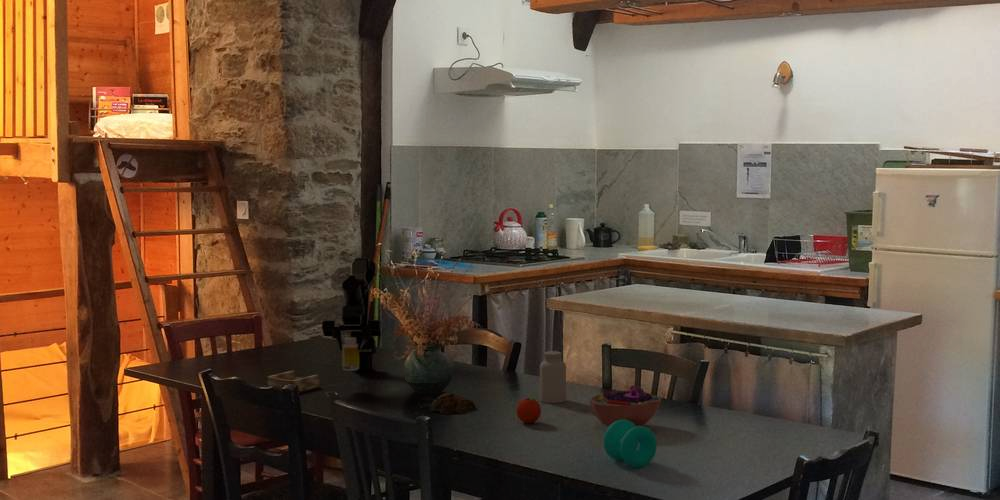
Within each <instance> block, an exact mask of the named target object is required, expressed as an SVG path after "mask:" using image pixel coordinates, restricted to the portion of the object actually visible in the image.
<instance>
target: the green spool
mask: <svg viewBox="0 0 1000 500" xmlns="http://www.w3.org/2000/svg"><path fill="white" fill-rule="evenodd" d="M657 446H658V442H657V438H656V435H655V434H654V432H653V431H652V430H651V429H650V428H649V427H646V426H644V425H643V426H635V425H634V424H633V423H632V422H630V421H628V420H618V421H615V422H614V423H612V424H611V425H610V426H607V429H606V430H605V432H604V436H603V447H604V451H605V453H606V454H607V455H608V456H609V457H610V458H611V459H613V460H615V461H623V462H624V463H625V464H626V465H628V466H629V467H631V468H634V469H635V468H636V469H638V468H643V467H645V466H647V465H648V464H649V463H651V461H652V460H653V458H654V457H655V455H656V452H657V448H658V447H657Z"/></svg>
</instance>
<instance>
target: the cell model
mask: <svg viewBox="0 0 1000 500" xmlns="http://www.w3.org/2000/svg"><path fill="white" fill-rule="evenodd" d="M589 400H590V401H589V403H590V404H589V405H590V410H591V412H592V414H593V415H594V417H595V418H596V419H597V420H599V422H600V423H601V424H603V425H605V426H606V427H609V426H610V425H611V424H612V423H614V422H615V421H618V420H628V421H630V422H632V423H633V424H634V425H635V426H644V425H645V424H647V423H649V422H650V420H651V419H653V417H654V416H655V415H656V413H657V411H658V409H659V407H660V404H661V401H662V397H660V396H658V395H654V394H651V393H649V392H645V391H644V389H643V388H641V387H640V386H638V385H631V386H630V388H629V390H613V391H612V390H611V391H609V390H607V391H606V390H603V392H601V393H599V394H596V395H595V396H592V397H590V398H589Z"/></svg>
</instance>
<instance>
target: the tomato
mask: <svg viewBox="0 0 1000 500" xmlns="http://www.w3.org/2000/svg"><path fill="white" fill-rule="evenodd" d="M538 401H540V402H541V400H540V399H538V398H533V397H528V398H524V399H521V401H519V403H518V404H517V406H516V411H515V412H516V416H517V418H518V419H519V420H520V421H521V422H523V423H525V424H533V423H535V422H537V420H538V419H540V417H541V413H542V409H541V408H542V407H541V406H540V403H539V402H538ZM541 404H542V405H544V402H541Z"/></svg>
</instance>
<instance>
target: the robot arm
mask: <svg viewBox="0 0 1000 500" xmlns="http://www.w3.org/2000/svg"><path fill="white" fill-rule="evenodd" d="M377 271H378V269H377V263H376V262H373V261H372V260H370V258H368V257H355V258H354V261H353V262H352V264H351V274H350V275H348V276H347V277H346V279H345V280H344V281H342V283H341V284H342V285H341V286H342V287H341V289H342V292H343V298H344V300H345V305H342V311H341V312H342V313H341V314H342V318H341V320H342V321H341V322H342V323H339V322H336V321H335V320H334V319H324V320H323V321H322V322H321V330H322V334H323V336H324V337H331V338H333V339H335V340H336V342H337V344H338V347H339V351H341V352H342V344H343V341H342V340H343V339H342V338H343V337H342V333H341V332H342V331H344V332H350V337H356V340H357V341H356V343H358V344H359V347H358V350H359V364H360V367H359V369H358V370H354V371H353V372H355V373H362V372H363V373H364V372H374V371H375V368H373V355H374V354H376V353H377V344H376V340H375V338H374V337H381V336H382V325H381V324H382V323H381V322H382V321H381V320H379V319H369V318H370V317H369V315H370V296H371V294H370V293H371V288H372V287H373V285H374V284H375V283H376V282H375V281H376V277H377V276H378V275H377V274H378V272H377Z"/></svg>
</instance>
